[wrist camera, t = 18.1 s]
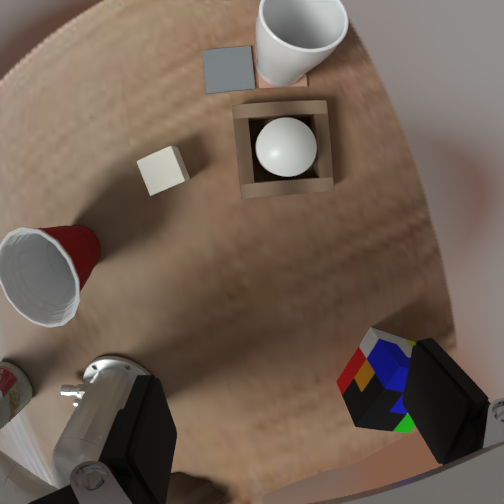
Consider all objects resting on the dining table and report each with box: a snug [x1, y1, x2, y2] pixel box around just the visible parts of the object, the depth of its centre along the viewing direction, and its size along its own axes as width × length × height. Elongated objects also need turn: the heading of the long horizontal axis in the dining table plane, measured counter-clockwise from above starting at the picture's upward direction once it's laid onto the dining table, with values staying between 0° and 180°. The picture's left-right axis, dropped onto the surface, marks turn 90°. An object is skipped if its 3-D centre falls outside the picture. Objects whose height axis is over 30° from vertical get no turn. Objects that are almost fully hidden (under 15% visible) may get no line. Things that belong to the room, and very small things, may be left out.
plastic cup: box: [0, 225, 100, 327], centre depth 32 cm, size 11×11×12 cm
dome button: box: [255, 118, 317, 177], centre depth 33 cm, size 6×6×4 cm
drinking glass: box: [255, 0, 349, 87], centre depth 25 cm, size 7×7×15 cm
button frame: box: [232, 100, 334, 199], centre depth 34 cm, size 10×10×3 cm
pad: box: [255, 46, 307, 89], centre depth 33 cm, size 6×6×1 cm
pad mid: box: [203, 46, 255, 94], centre depth 32 cm, size 6×6×1 cm
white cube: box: [137, 146, 190, 196], centre depth 34 cm, size 4×4×4 cm
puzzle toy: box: [336, 327, 416, 433], centre depth 39 cm, size 10×10×10 cm
